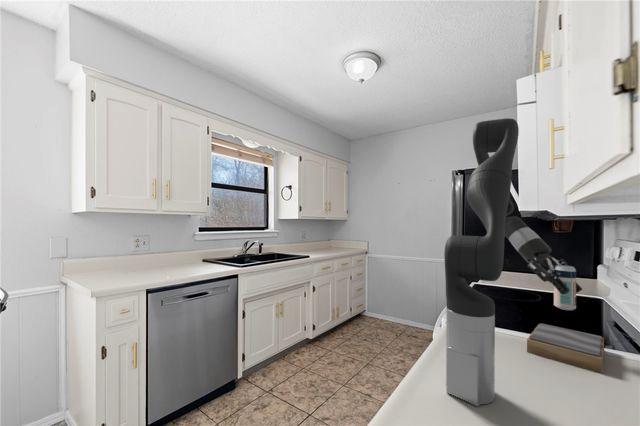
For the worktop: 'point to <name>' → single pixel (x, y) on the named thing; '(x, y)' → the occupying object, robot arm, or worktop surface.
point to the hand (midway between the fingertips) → (572, 291)
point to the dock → (567, 346)
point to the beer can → (569, 279)
